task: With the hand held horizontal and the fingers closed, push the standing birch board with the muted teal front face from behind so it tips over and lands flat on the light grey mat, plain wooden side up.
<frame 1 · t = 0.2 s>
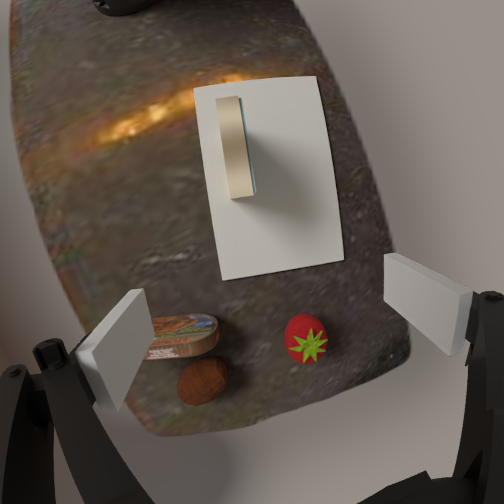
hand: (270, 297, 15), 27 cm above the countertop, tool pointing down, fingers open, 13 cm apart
mat: (270, 171, 41), on the countertop
potato: (203, 371, 45), on the countertop
board: (233, 162, 39), point 1 cm above the countertop, touching mat
tin: (172, 324, 44), on the countertop
strawberry: (297, 323, 45), on the countertop
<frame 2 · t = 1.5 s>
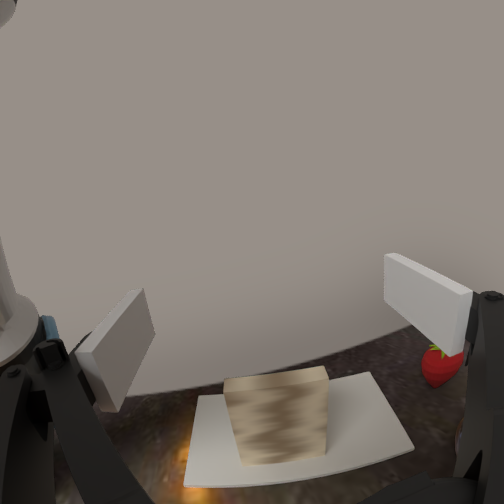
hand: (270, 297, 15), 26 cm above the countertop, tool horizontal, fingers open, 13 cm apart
mat: (294, 429, 35), on the countertop
board: (283, 455, 30), point 1 cm above the countertop, touching mat
strawberry: (435, 388, 36), on the countertop
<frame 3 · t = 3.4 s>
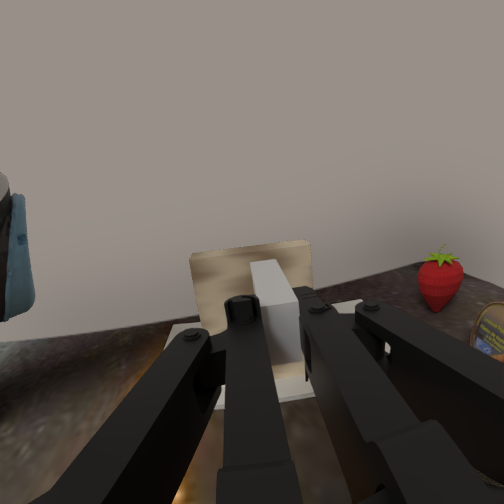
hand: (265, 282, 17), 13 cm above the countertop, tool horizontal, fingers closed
mat: (278, 350, 33), on the countertop
board: (264, 374, 28), point 1 cm above the countertop, touching mat
strawberry: (437, 313, 35), on the countertop
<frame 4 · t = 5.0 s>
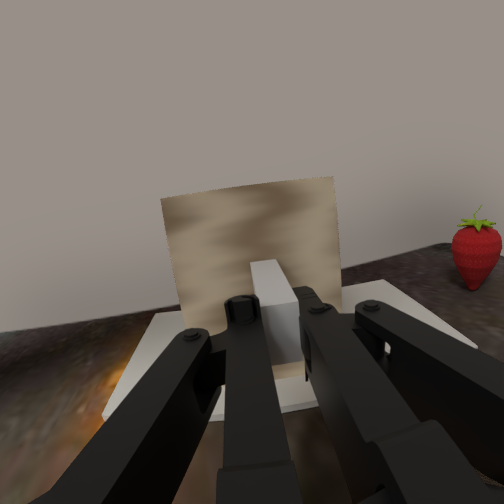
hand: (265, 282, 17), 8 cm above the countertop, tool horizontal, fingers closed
mat: (287, 341, 25), on the countertop
board: (270, 371, 20), point 1 cm above the countertop, touching gripper, mat
strawberry: (473, 292, 27), on the countertop
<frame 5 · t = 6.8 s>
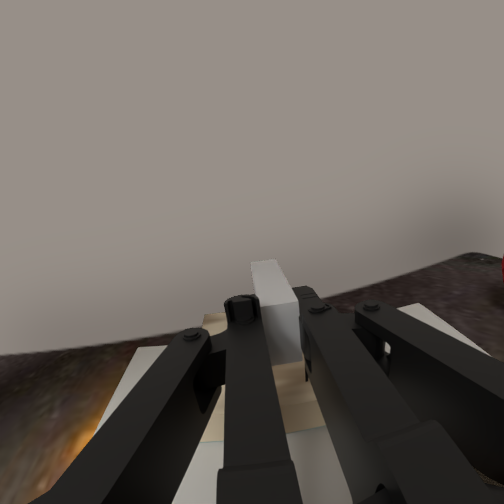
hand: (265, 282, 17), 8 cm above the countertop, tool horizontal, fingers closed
mat: (308, 399, 18), on the countertop
board: (284, 420, 14), point 2 cm above the countertop, tilted 90°, touching mat
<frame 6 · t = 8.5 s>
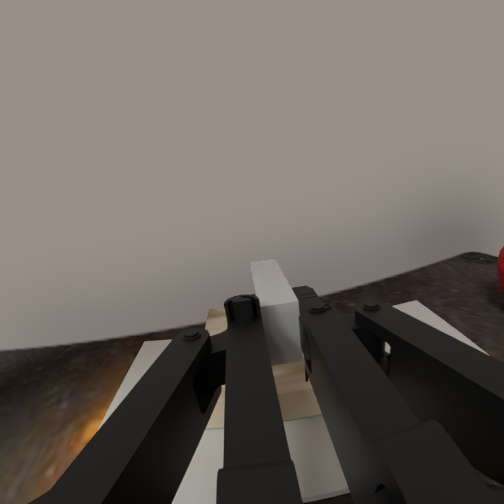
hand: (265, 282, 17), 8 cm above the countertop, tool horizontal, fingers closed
mat: (307, 390, 19), on the countertop
board: (282, 407, 15), point 2 cm above the countertop, tilted 90°, touching mat
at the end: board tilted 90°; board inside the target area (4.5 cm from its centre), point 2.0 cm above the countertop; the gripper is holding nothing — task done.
